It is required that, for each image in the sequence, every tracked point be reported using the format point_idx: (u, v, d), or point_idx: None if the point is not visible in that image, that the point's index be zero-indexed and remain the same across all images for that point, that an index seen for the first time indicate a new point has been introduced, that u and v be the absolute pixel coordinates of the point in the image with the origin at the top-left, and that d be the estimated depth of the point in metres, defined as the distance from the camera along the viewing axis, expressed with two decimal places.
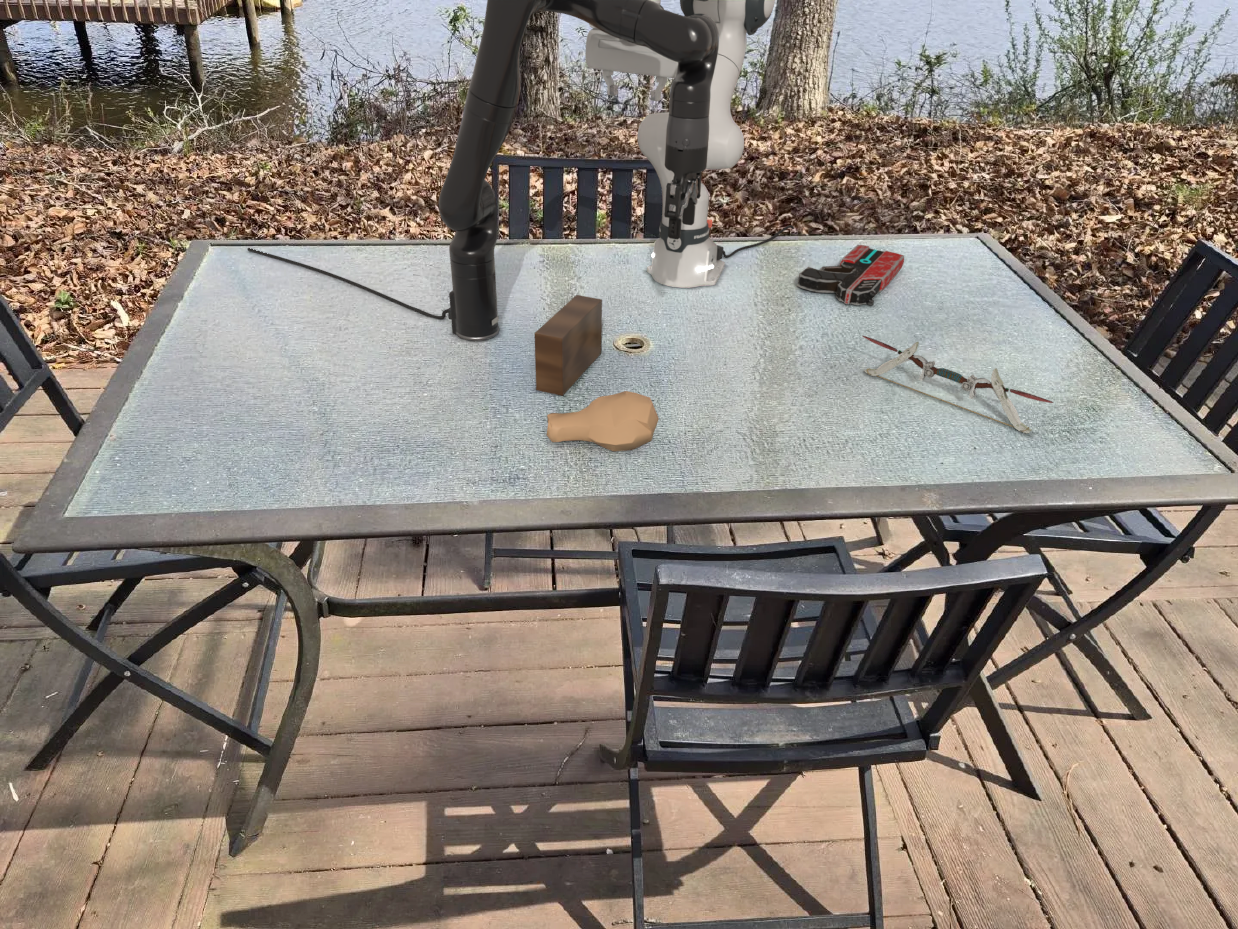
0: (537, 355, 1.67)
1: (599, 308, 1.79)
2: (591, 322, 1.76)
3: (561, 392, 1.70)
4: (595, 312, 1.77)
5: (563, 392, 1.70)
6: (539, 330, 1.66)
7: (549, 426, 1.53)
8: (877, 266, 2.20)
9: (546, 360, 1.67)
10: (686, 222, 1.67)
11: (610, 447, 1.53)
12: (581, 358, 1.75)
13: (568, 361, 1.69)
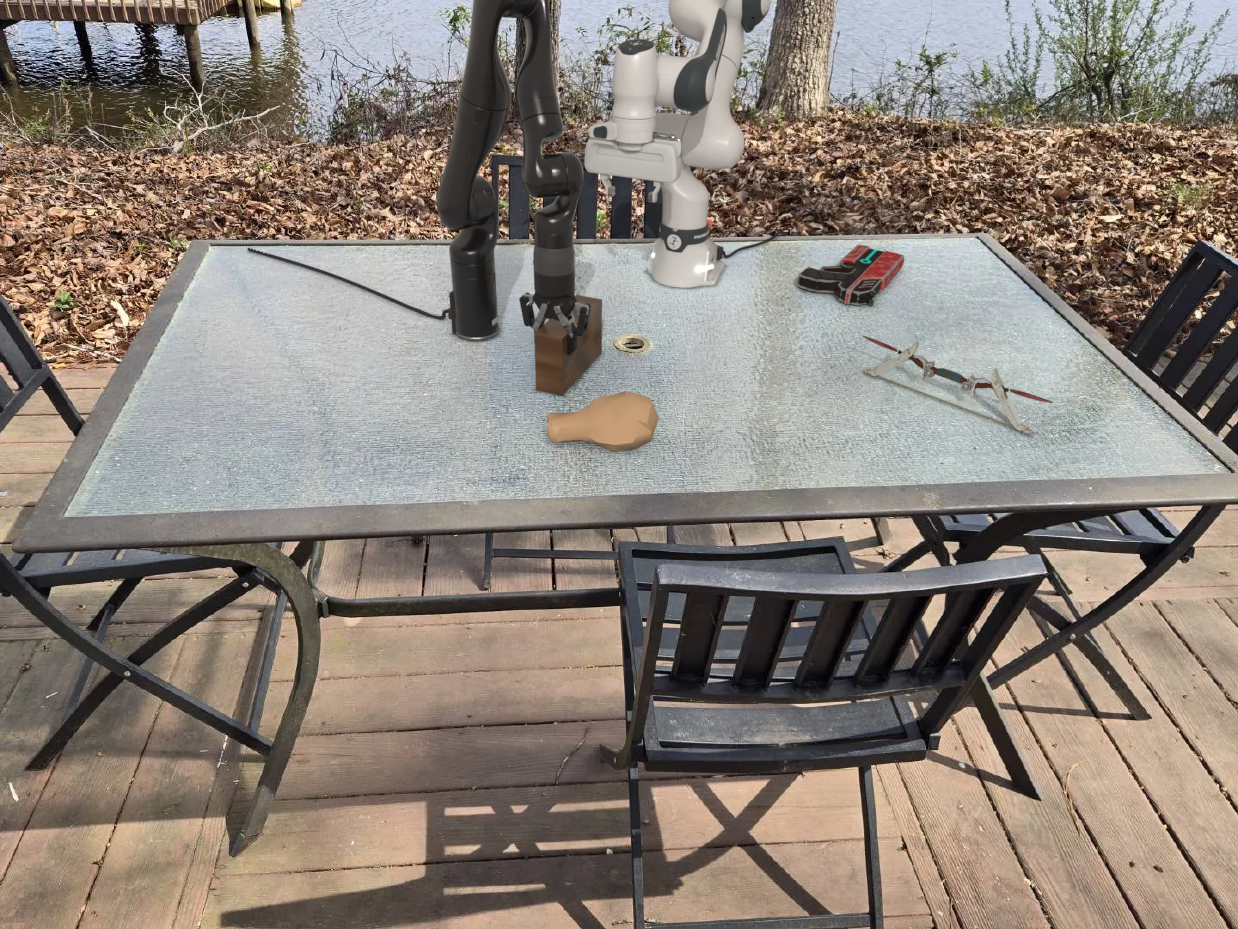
0: (537, 355, 1.67)
1: (599, 308, 1.79)
2: (591, 322, 1.76)
3: (561, 392, 1.70)
4: (595, 312, 1.77)
5: (562, 392, 1.70)
6: (539, 330, 1.66)
7: (549, 426, 1.53)
8: (877, 266, 2.20)
9: (546, 361, 1.67)
10: None
11: (610, 447, 1.53)
12: (581, 358, 1.75)
13: (568, 361, 1.69)
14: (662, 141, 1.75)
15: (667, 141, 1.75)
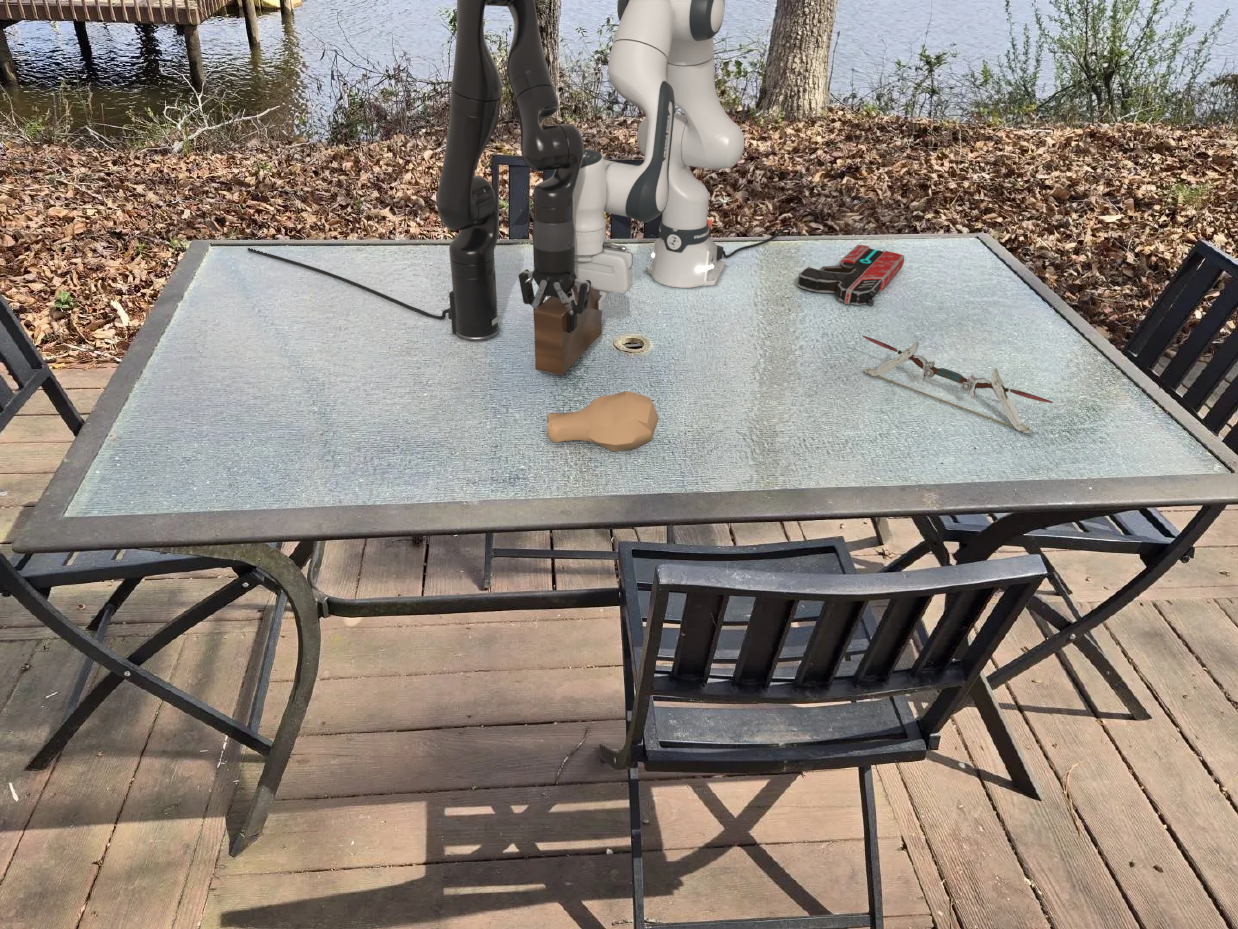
0: (537, 333, 1.65)
1: None
2: (591, 301, 1.73)
3: (561, 371, 1.67)
4: (595, 291, 1.74)
5: (562, 371, 1.67)
6: (538, 308, 1.63)
7: (549, 426, 1.53)
8: (877, 266, 2.20)
9: (546, 339, 1.65)
10: None
11: (610, 447, 1.53)
12: (581, 337, 1.73)
13: (568, 339, 1.66)
14: (612, 252, 1.68)
15: (617, 252, 1.68)
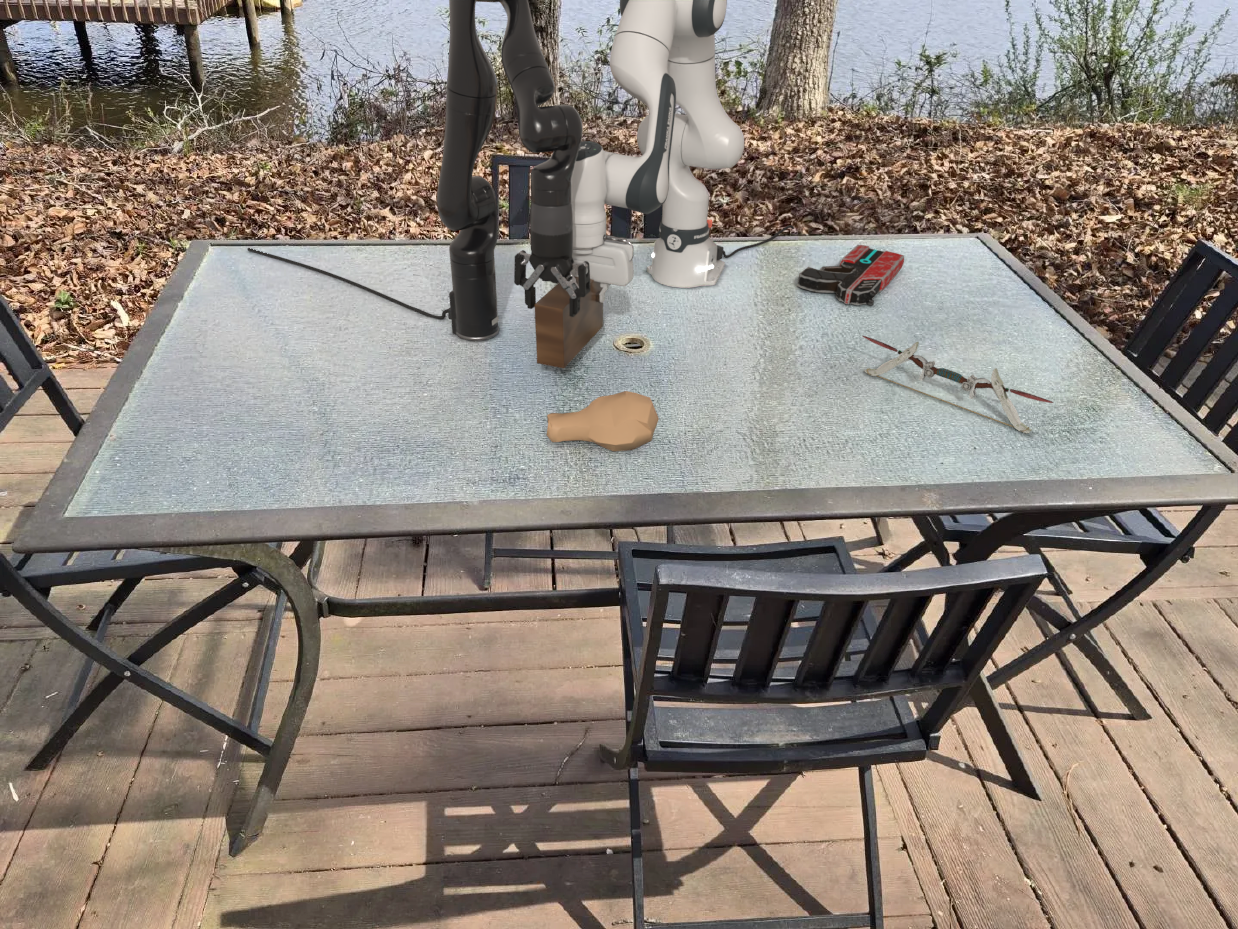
0: (538, 327, 1.64)
1: None
2: (592, 294, 1.73)
3: (562, 365, 1.67)
4: (596, 284, 1.74)
5: (564, 364, 1.67)
6: (539, 301, 1.63)
7: (549, 426, 1.53)
8: (877, 266, 2.20)
9: (547, 332, 1.64)
10: None
11: (610, 447, 1.53)
12: (582, 330, 1.72)
13: (569, 332, 1.66)
14: (613, 244, 1.68)
15: (618, 244, 1.67)
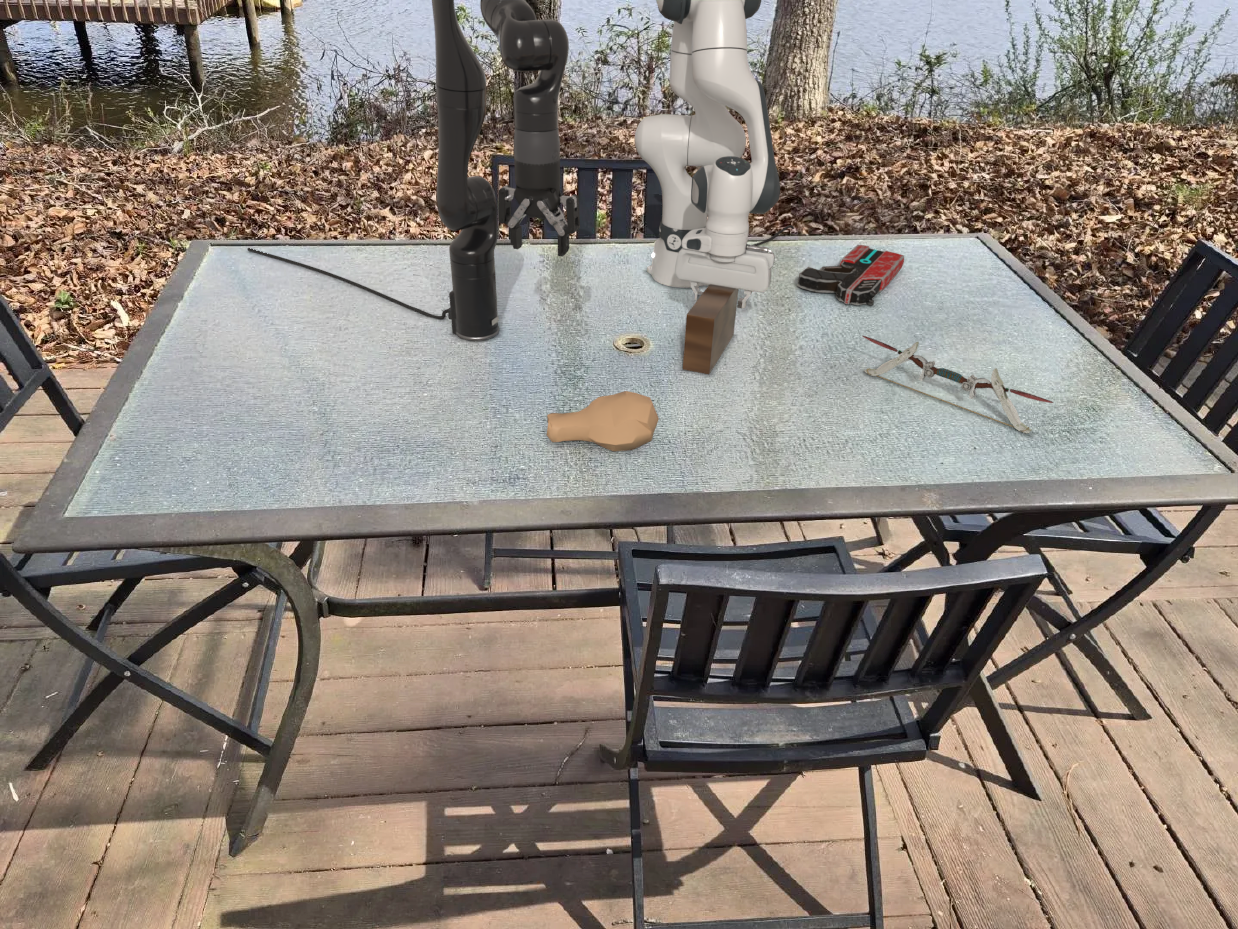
0: (687, 335, 1.76)
1: (736, 292, 1.88)
2: (731, 305, 1.85)
3: (708, 371, 1.79)
4: (734, 296, 1.86)
5: (709, 370, 1.79)
6: (690, 311, 1.75)
7: (549, 426, 1.53)
8: (877, 266, 2.20)
9: (696, 341, 1.76)
10: None
11: (610, 447, 1.53)
12: (722, 339, 1.84)
13: (715, 341, 1.78)
14: (755, 253, 1.79)
15: (760, 253, 1.78)
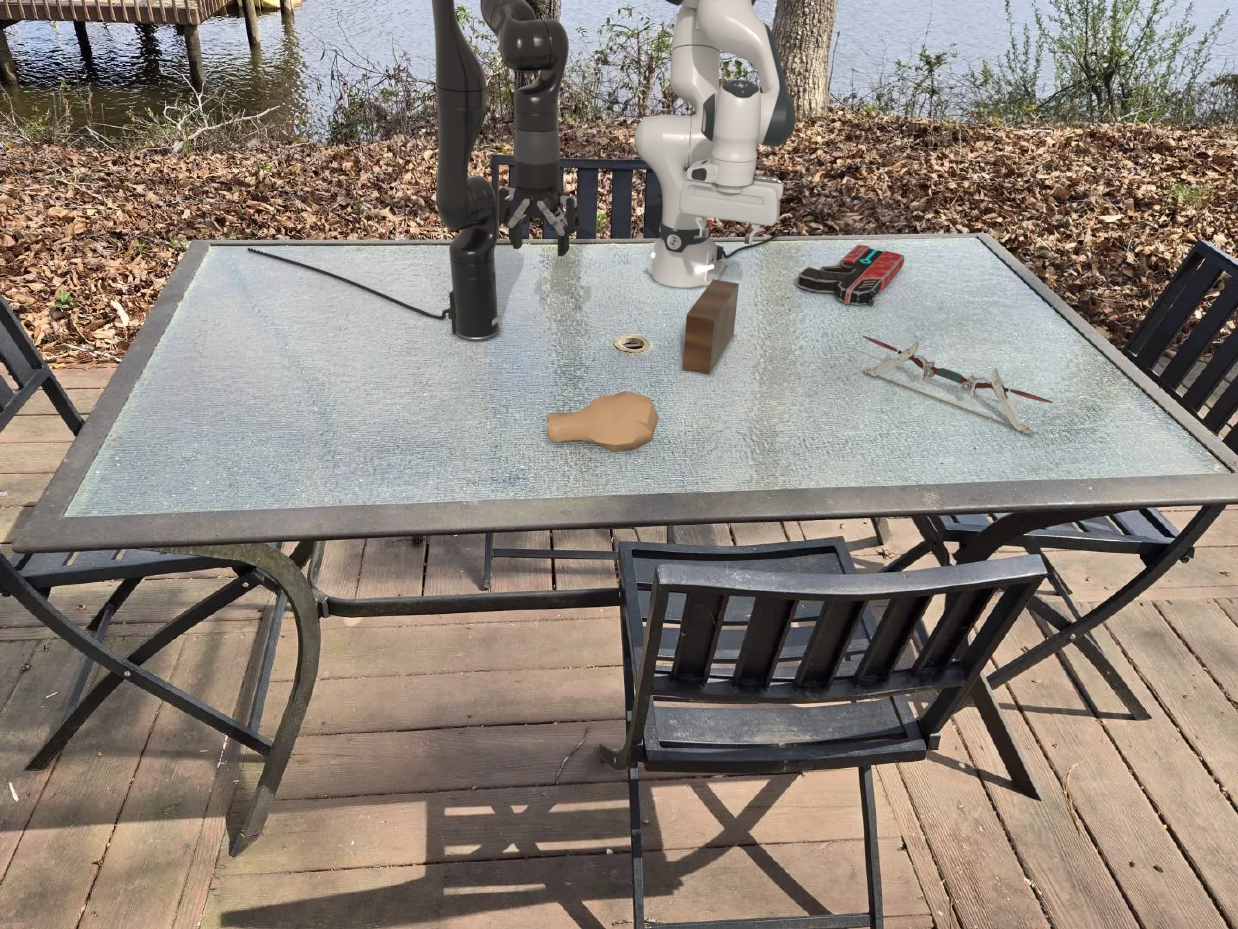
0: (687, 335, 1.76)
1: (736, 292, 1.88)
2: (731, 305, 1.85)
3: (708, 371, 1.79)
4: (734, 296, 1.86)
5: (709, 370, 1.79)
6: (690, 311, 1.75)
7: (549, 426, 1.53)
8: (877, 266, 2.20)
9: (696, 341, 1.76)
10: None
11: (610, 447, 1.53)
12: (722, 339, 1.84)
13: (715, 341, 1.78)
14: (763, 183, 1.71)
15: (768, 183, 1.70)
